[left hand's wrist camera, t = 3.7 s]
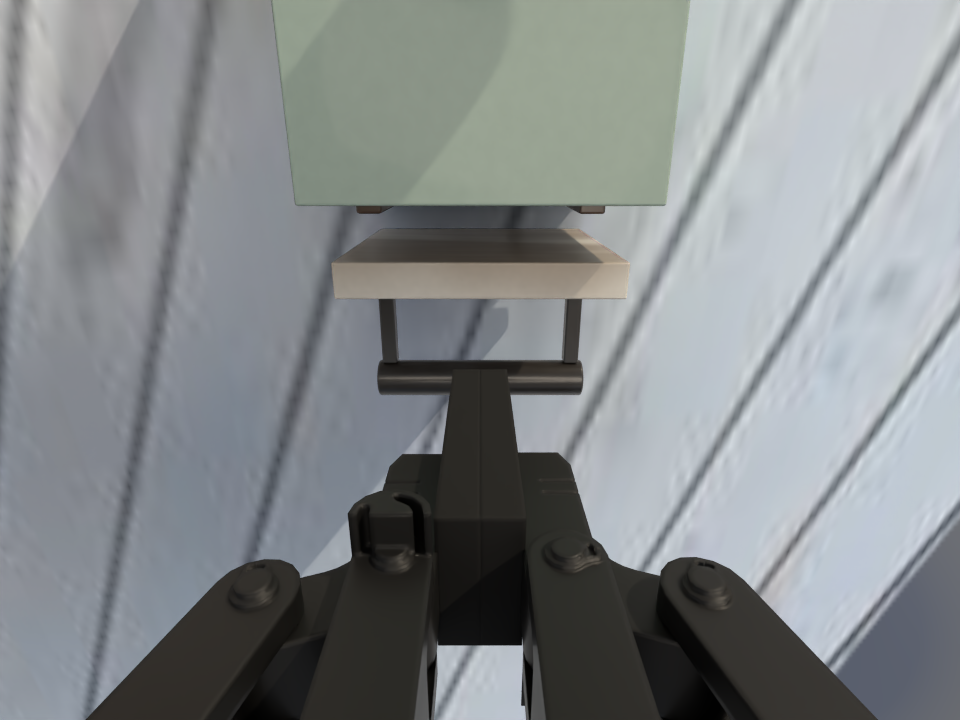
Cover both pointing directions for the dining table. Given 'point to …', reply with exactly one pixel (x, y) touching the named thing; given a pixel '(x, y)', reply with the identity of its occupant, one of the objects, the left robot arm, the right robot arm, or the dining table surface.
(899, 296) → the dining table surface
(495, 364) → the drawer
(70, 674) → the dining table surface
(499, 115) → the cabinet
